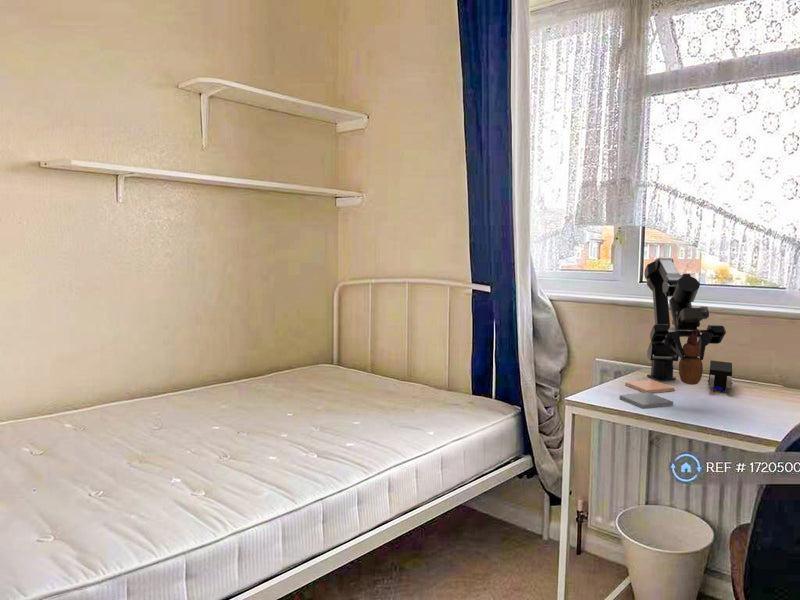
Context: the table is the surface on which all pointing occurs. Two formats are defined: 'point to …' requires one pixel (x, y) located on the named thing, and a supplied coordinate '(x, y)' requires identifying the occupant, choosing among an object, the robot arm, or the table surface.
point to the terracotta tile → (649, 386)
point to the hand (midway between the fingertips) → (692, 359)
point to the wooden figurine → (691, 362)
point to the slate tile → (646, 400)
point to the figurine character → (720, 375)
